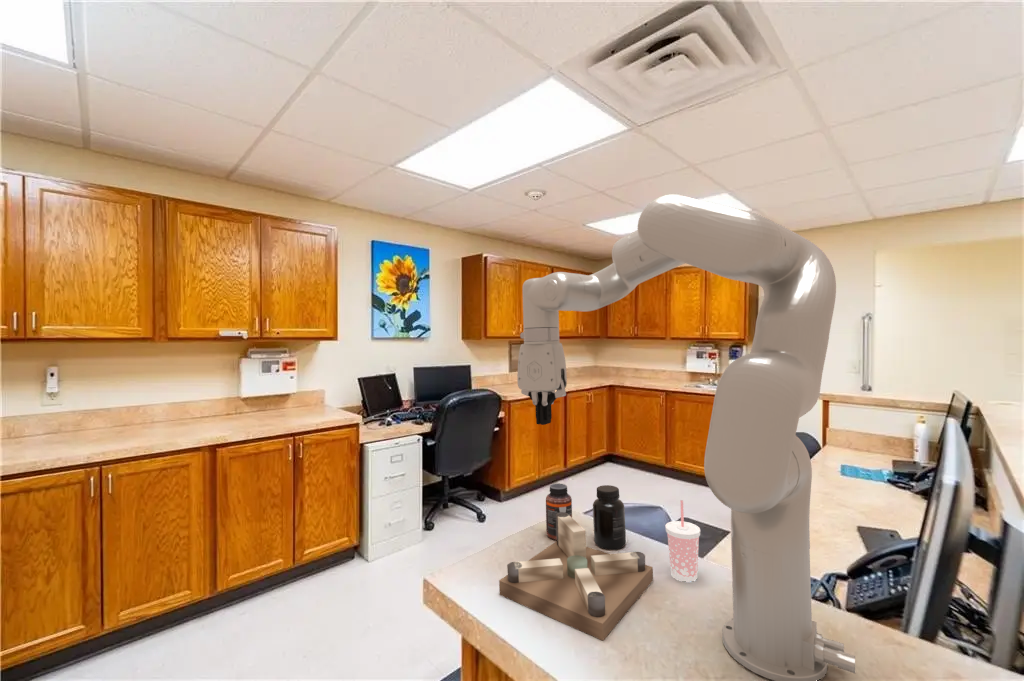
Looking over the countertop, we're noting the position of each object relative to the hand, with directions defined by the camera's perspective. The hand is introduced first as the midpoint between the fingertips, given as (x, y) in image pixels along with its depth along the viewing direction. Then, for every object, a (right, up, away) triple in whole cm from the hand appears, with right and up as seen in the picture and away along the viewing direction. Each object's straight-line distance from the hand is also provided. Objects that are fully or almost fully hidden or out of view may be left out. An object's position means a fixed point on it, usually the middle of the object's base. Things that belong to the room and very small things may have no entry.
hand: (543, 423), depth 92 cm
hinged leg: (+5, -24, -6) cm, 25 cm away
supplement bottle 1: (+4, -27, +7) cm, 29 cm away
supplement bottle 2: (+15, -27, +3) cm, 31 cm away
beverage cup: (+25, -27, -11) cm, 38 cm away
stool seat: (+5, -27, -14) cm, 31 cm away
